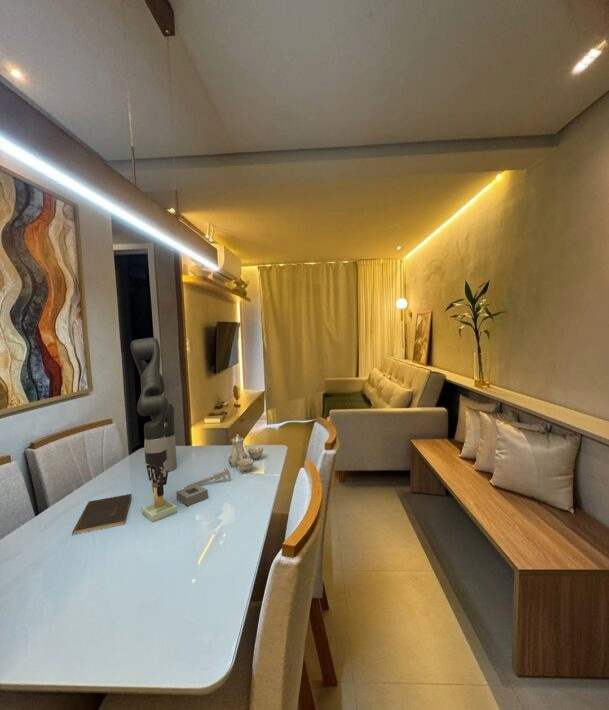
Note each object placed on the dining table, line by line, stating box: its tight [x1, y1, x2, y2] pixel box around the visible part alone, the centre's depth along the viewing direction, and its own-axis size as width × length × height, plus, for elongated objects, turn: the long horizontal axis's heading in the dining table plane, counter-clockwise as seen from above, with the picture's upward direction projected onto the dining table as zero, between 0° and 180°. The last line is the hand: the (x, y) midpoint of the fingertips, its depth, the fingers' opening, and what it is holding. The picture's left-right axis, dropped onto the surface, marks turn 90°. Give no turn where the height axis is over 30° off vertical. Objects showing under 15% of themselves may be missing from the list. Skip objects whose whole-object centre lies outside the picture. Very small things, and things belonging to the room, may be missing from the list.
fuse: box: [152, 482, 164, 508], centre depth 129 cm, size 3×3×9 cm
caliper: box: [183, 467, 231, 489], centre depth 155 cm, size 20×1×6 cm, turn 110°
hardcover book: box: [71, 493, 133, 535], centre depth 131 cm, size 16×23×2 cm
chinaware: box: [227, 433, 264, 474], centre depth 177 cm, size 28×17×17 cm, turn 177°
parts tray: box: [141, 498, 178, 523], centre depth 130 cm, size 9×9×2 cm
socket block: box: [175, 484, 209, 507], centre depth 141 cm, size 9×9×4 cm
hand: (158, 494), depth 129 cm, fingers closed on fuse, 3 cm apart
